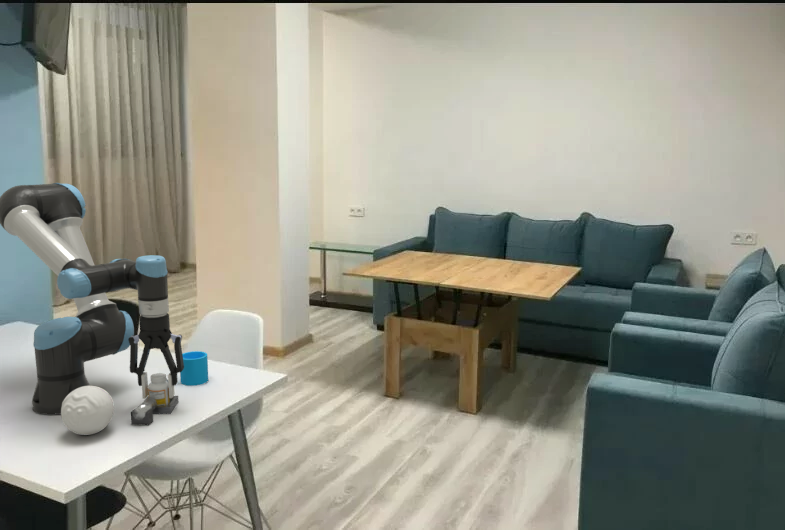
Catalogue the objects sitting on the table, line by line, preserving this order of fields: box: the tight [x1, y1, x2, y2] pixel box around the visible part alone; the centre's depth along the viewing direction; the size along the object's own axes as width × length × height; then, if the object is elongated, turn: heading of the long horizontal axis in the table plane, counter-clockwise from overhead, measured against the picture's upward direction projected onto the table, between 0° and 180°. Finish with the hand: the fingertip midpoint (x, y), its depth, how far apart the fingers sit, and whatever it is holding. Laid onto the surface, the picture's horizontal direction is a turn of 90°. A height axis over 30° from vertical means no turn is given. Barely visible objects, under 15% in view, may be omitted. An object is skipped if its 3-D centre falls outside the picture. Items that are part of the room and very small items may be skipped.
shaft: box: [129, 398, 157, 426], centre depth 176 cm, size 7×5×5 cm
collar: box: [144, 395, 179, 415], centre depth 184 cm, size 8×8×2 cm
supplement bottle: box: [147, 372, 170, 406], centre depth 183 cm, size 5×5×10 cm
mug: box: [179, 350, 209, 387], centre depth 206 cm, size 12×8×8 cm
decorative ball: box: [60, 385, 115, 436], centre depth 167 cm, size 12×12×12 cm
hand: (158, 396), depth 183 cm, fingers open, 6 cm apart
